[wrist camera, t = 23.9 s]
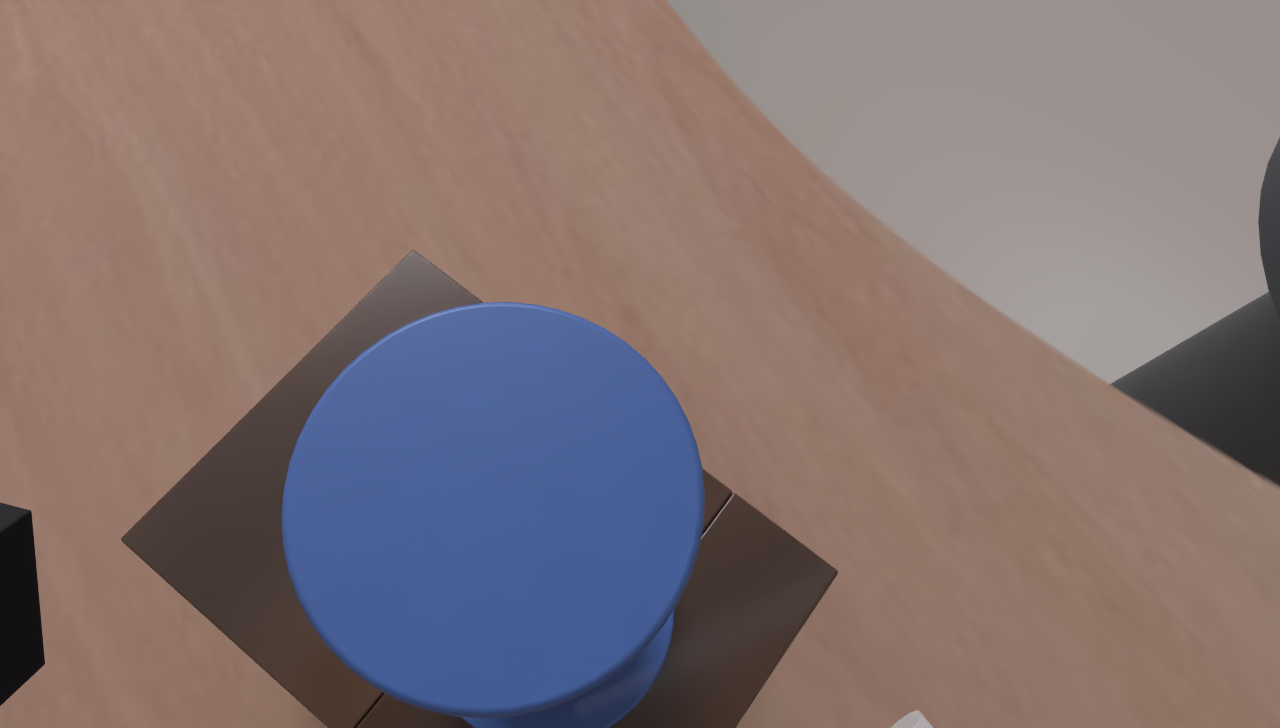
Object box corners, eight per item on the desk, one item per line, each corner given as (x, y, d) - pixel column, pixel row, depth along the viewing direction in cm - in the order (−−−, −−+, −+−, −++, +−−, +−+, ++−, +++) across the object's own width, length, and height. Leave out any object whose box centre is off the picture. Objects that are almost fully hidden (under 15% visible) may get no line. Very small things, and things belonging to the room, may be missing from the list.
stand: (750, 613, 32) (840, 571, 21) (582, 855, 29) (582, 958, 18) (467, 391, 35) (412, 247, 23) (284, 593, 31) (118, 539, 20)
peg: (689, 610, 26) (910, 443, 9) (569, 777, 24) (534, 1002, 7) (543, 494, 27) (470, 129, 10) (417, 646, 25) (36, 543, 8)
